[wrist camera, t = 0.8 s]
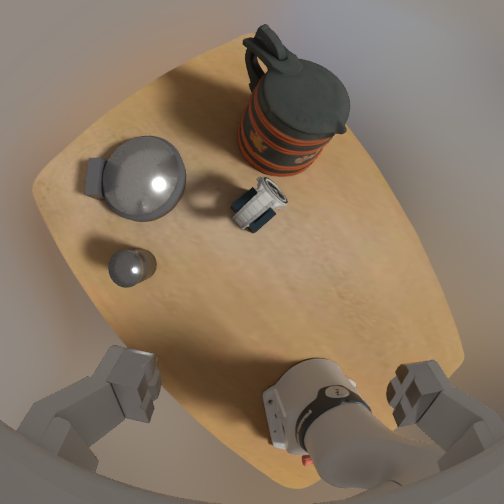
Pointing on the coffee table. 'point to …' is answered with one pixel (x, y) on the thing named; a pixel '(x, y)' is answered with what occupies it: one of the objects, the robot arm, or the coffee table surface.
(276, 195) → the watch
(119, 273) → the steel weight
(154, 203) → the pan
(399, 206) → the coffee table surface
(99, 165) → the scale
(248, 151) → the beer stein
